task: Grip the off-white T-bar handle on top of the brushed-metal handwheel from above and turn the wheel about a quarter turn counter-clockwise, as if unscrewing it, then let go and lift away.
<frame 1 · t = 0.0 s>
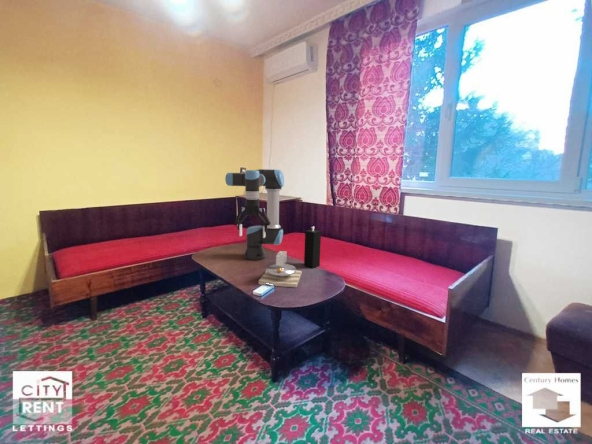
hand: (252, 236, 163), 28 cm above the table, fingers open, 13 cm apart
tissue box: (311, 266, 202), on the table
base plate: (281, 278, 177), on the table
handwheel: (281, 262, 175), point 11 cm above the table, hinge at 0.0°
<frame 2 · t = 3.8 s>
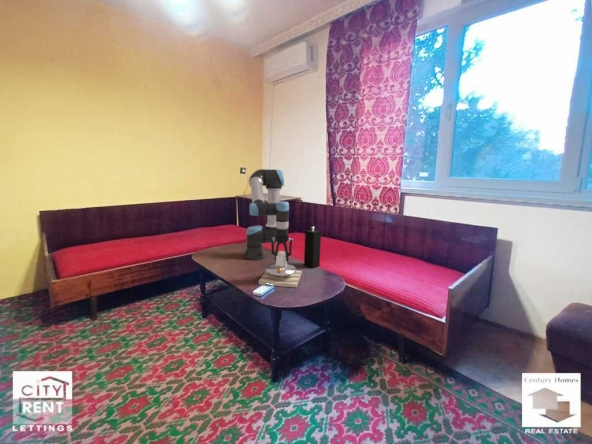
hand: (281, 265, 176), 8 cm above the table, fingers closed on handwheel, 4 cm apart
handwheel: (281, 262, 175), point 11 cm above the table, hinge at 0.0°, touching gripper
everything else where it was.
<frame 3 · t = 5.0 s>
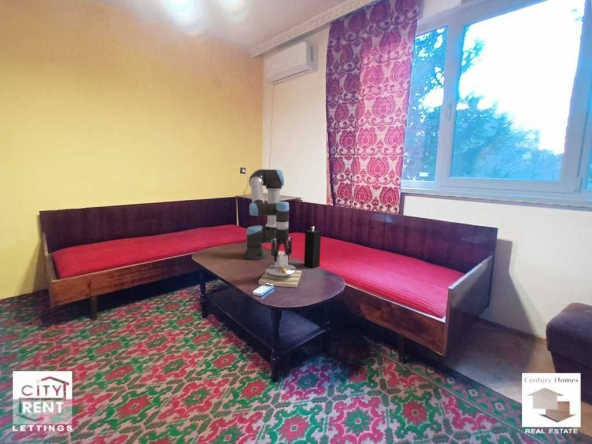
hand: (281, 265, 176), 8 cm above the table, fingers closed on handwheel, 6 cm apart
handwheel: (281, 262, 175), point 11 cm above the table, hinge at 21.5°, touching gripper
everything else where it was.
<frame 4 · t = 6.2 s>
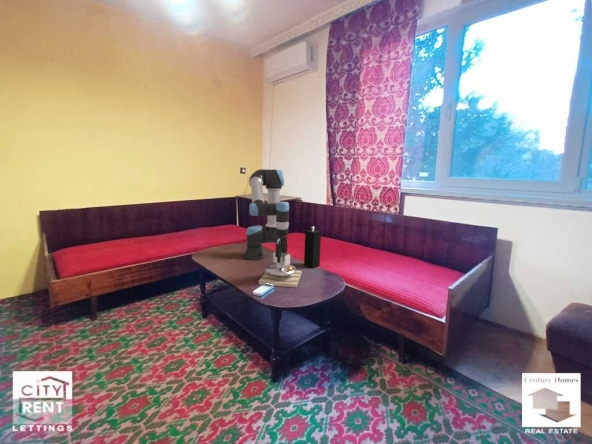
hand: (281, 265, 176), 8 cm above the table, fingers closed on handwheel, 6 cm apart
handwheel: (281, 262, 175), point 11 cm above the table, hinge at 56.6°, touching gripper
everything else where it was.
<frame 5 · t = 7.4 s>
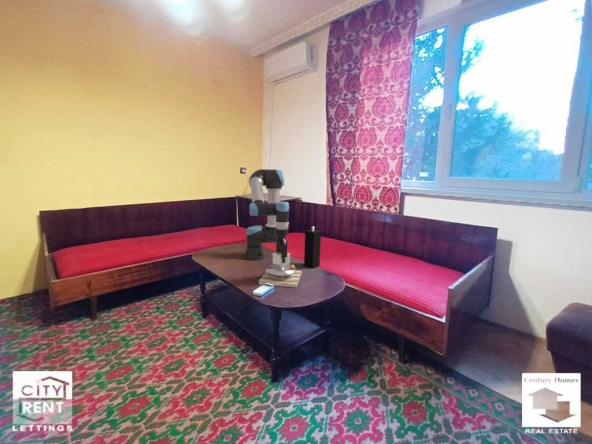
hand: (281, 265, 176), 8 cm above the table, fingers closed on handwheel, 6 cm apart
handwheel: (281, 262, 175), point 11 cm above the table, hinge at 95.3°, touching gripper
everything else where it was.
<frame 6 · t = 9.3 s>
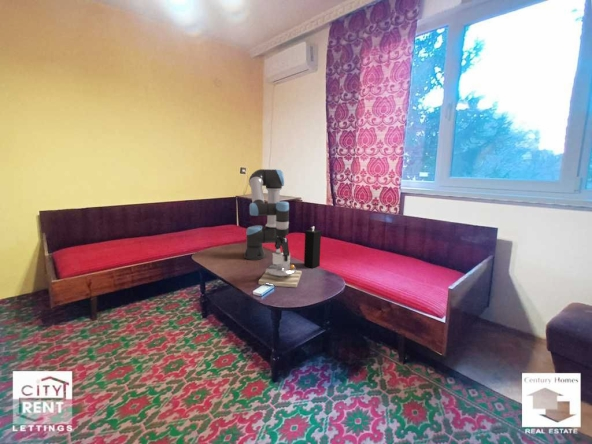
hand: (281, 262, 175), 10 cm above the table, fingers open, 13 cm apart
handwheel: (281, 262, 175), point 11 cm above the table, hinge at 95.6°
everything else where it was.
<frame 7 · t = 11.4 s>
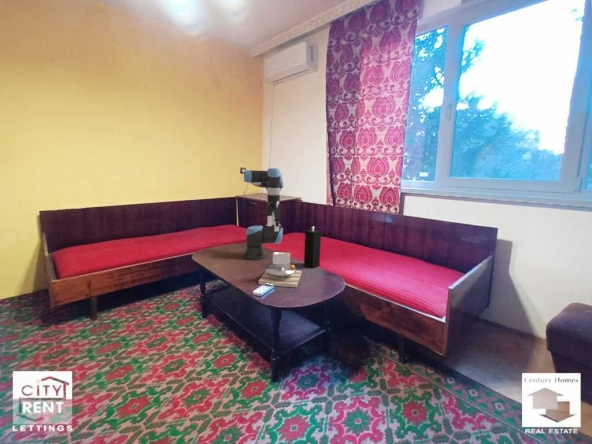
hand: (273, 228, 180), 29 cm above the table, fingers open, 13 cm apart
nothing on the table moved.
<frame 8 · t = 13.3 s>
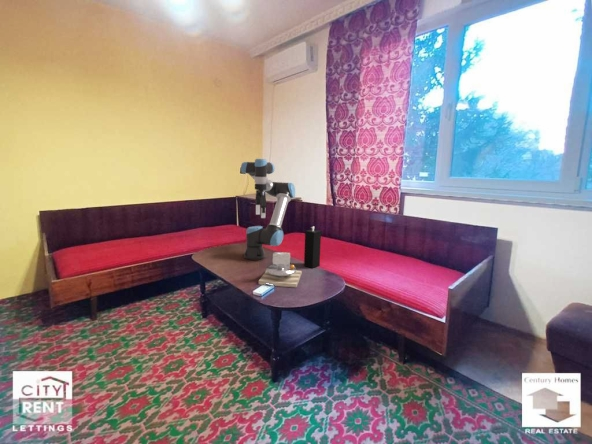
hand: (260, 216, 191), 35 cm above the table, fingers open, 13 cm apart
nothing on the table moved.
at the end: handwheel at +96° (first picture: +0°) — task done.
